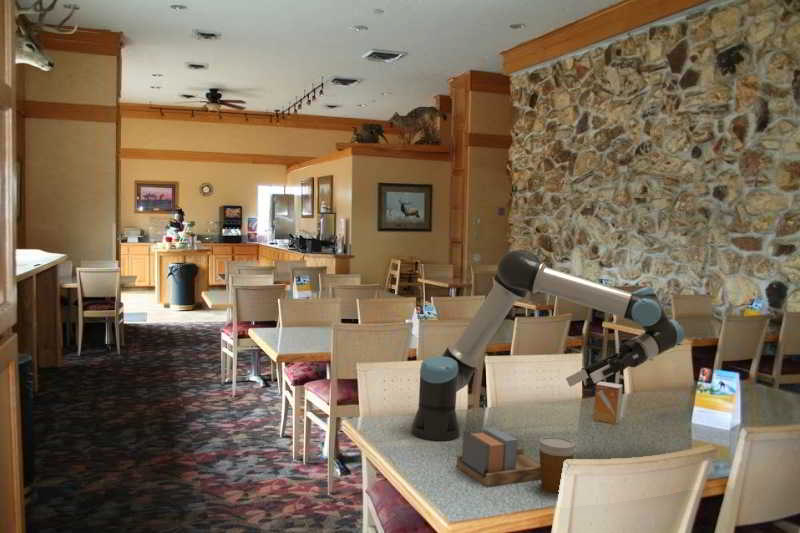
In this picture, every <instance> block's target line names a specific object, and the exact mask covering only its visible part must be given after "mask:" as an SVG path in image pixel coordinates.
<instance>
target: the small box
mask: <svg viewBox="0 0 800 533" xmlns="http://www.w3.org/2000/svg"><path fill="white" fill-rule="evenodd" d="M622 396H623V384H619V383H615V382H607V381H602V380H600V381H599V382H597V383H595V395H594V403H593V404H594V405H593V418H592V419H593V421H598V422H602V423H607V424H613V425H617V424H618V423H619V422H620V419H621V412H622V411H621V408H622V398H623V397H622ZM618 421H619V422H618Z"/></svg>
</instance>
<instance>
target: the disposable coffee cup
mask: <svg viewBox="0 0 800 533" xmlns="http://www.w3.org/2000/svg"><path fill="white" fill-rule="evenodd" d="M537 448H538V450H539V463H540V470H541V479H540V483H541V485H540V486H541V488H542V489H543V490H544V491H546V492H550V493H554V494H555V493H556V494H559V493H558V490H559V485H560V479H561V473H562V468H563V462H564V460H566V459H574V454H576V453H575V452H576V451H577V448H576V446H575V443H574V442H573V441H572V440H570V439H567V438H564V437H558V436H544V437H541V438H540V439H539V442H538V443H537Z"/></svg>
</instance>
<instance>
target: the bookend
mask: <svg viewBox="0 0 800 533" xmlns="http://www.w3.org/2000/svg"><path fill="white" fill-rule="evenodd" d="M462 433H463V435H462V436H463V437H462V448H461V450H462V452H461V454H462V462H460V463H461V464H462V465H464V466H465V467H467V468H468V469H470V470H471V471H473V472H474V473H476V474H477V475H479V476H480V477H482V478H485V477H486V473H488V466H489V451H490V445H489V444H488V443H486V442H484V441H482V440H481V439H479V438H477V437H475V436H474V435H472V434H473V433H470V432H469V431H463V432H462Z"/></svg>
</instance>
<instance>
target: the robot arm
mask: <svg viewBox="0 0 800 533" xmlns="http://www.w3.org/2000/svg"><path fill="white" fill-rule="evenodd" d="M497 263H498V264H497V271H496V273H495V275H494V277H493V279H492V280H493V284H494V285H493V286H492V288H491V290H490V291H489V292H488V295H486V297H485V298H484V300H483V301H482V303H481V304H480V306H479V308H478V310H476V312H475V314H474V315H473V317H472V318H471V320H470V321H469V322H468V324H467V326H466V327H465V328H464V330H463V332H462V333H461V335H460V336H459V337H458V339H457V341H456V342H455V343H454V344H449V345H448V346H447V347H446V349H445V351H444V352H443V353H442V355H441V356H433V357H432V356H430V357H428V358H425V359H424V360H423V361H422V362H421V366H420V369H419V375H420V376H419V394H418V408H417V410H416V414H415V415H414V418H413V420H412V423H411V434H413V435H414V436H415V437H417V438H421V439H423V440H430V441H440V442H442V441H452V440H456V439H457V438H459V437H460V433H461V431H460V430H461V428H460V424H459V420H458V416H457V412H456V411H457V410H456V408H457V404H456V403H457V392H458V391H460V390H462V389H463V388H465V387H466V386H467V385H468V384H469V383H470V382H471V379H472V377H473V373H475V371H476V369H477V367H478V366H479V362H478V358H479V357H480V356H481V353H482V352H483V351H484V349H485V348H486V346H487V345H488V343H489V342H490V340H491V339H492V338H493V336H494V335H495V333H496V332H497V331H498V328H499V327H500V326H501V324H502V323H503V322H504V320H505V318H506V316H507V315H508V314H509V312H510V311H511V310H512V308H513V306H514V305H515V303H516V302H517V301H519V300H523V299H525V297H526V296H527V294H528V293H532V294H536V293H540V292H541V293H543V294H546V295H549V296H553V297H556V298H559V299H562V300H566V301H569V302H572V303H575V304H577V305H581V306H585V307H587V308H592V309H595V310H597V311H600V312H604V313H607V314H610V315H614V316H617V317H620V318H622V319H626V320H628V321H632V322H635V323H636V324H637V325H639V326H642V329H643V330H644V332H643V333H640V334H639V335H636V336H634V337H632V338H631V339H629V340H626V341H625V342H623V343H621V344H620V345H619V348H618V353H617V352H616V353H613V354H612V355H609V356H608V357H606V358H603V359H601V360H598V361H597V362H595V363H592V364H590V365H587V366H585V367H582V368H581V370H579V371H577V372H575V373H572V374H571V375H569V376H567V377H565V380H566V382H567V384H568V386H569V387H573V386H575V385H577V384H579V383H581V382H582V381H585V380H590V378H591V380H592V382H593V384H597V383H598V382H600V381H602V380H604V379H606V378H609V377H610V376H612V375H614V374H616V373H619V372H623V371H625V370H626V369H627V368H629V367H630V368H636V367H639V366H641V365H642V364H644V363H646V362H648V361H651V362H652V361H654V358H656V357H657V356H659V355H661V354H663V353H665V352H666V351H669V350H671V349H674V348H675V347H676V346H677V345H680V343H682V342H683V341H684V339H685V330H684V328H683V326H682V325H681V324H680V323H679V322H678V321H677V320H675V319H669V318H668V316H667V314H666V313H665V310H664V308H663V306H662V304H661V302H660V300H659V298H658V295H657V294H656V292H655V291H654V288H653V287H652V286H649V285H648V286H647V285H646V286H644V287H641V288H639V289H637V290H635V291H633V292H630V291H627V290H622V289H620V288H617V287H613V286H610V285H607V284H603V283H600V282H597V281H595V280H590V279H587V278H584V277H581V276H578V275H574V274H570V273H567V272H564V271H561V270H558V269H554V268H551V267H548V266H547V265H546V263H545V262H543V261H541V259H540V258H539V256H538V255H537V254H535V253H534V252H533V251H530V250H528V249H517V250H510V251H508V252H506V253H504V255H502V256H501V258H500V260H499V261H498V262H497Z"/></svg>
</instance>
